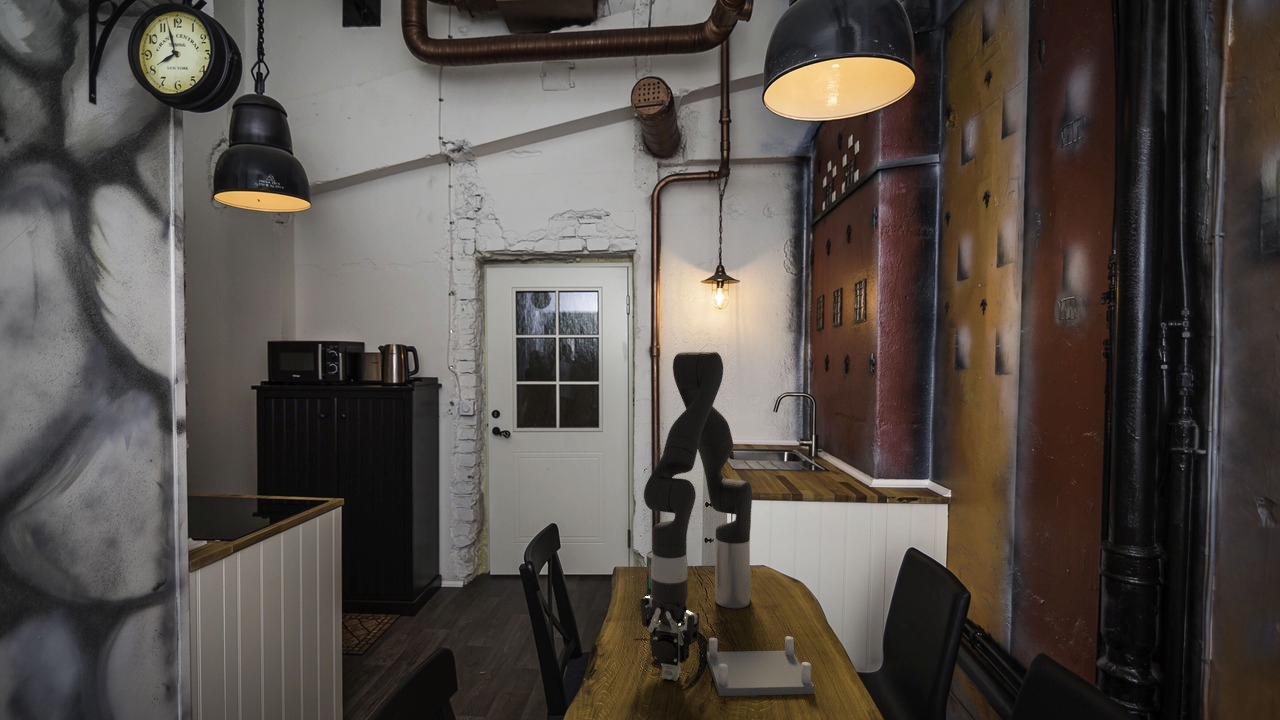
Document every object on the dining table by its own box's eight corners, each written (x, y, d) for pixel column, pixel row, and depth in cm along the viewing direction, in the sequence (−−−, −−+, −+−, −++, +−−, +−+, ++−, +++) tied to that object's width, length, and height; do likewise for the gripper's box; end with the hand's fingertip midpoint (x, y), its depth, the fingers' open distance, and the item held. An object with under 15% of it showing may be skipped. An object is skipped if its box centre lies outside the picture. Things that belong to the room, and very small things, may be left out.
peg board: (718, 696, 112) (719, 670, 112) (706, 658, 126) (706, 636, 126) (814, 693, 113) (814, 668, 113) (791, 657, 127) (792, 634, 127)
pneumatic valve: (688, 663, 123) (688, 607, 123) (675, 693, 112) (676, 632, 112) (663, 659, 125) (663, 604, 125) (648, 689, 114) (648, 628, 114)
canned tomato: (674, 599, 158) (675, 559, 158) (646, 599, 158) (646, 559, 158) (673, 588, 165) (673, 550, 165) (646, 587, 166) (646, 549, 166)
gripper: (708, 578, 116) (708, 660, 117) (654, 561, 126) (654, 637, 126) (686, 589, 111) (685, 675, 111) (631, 570, 120) (631, 649, 121)
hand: (669, 654), depth 119 cm, fingers closed on pneumatic valve, 6 cm apart
